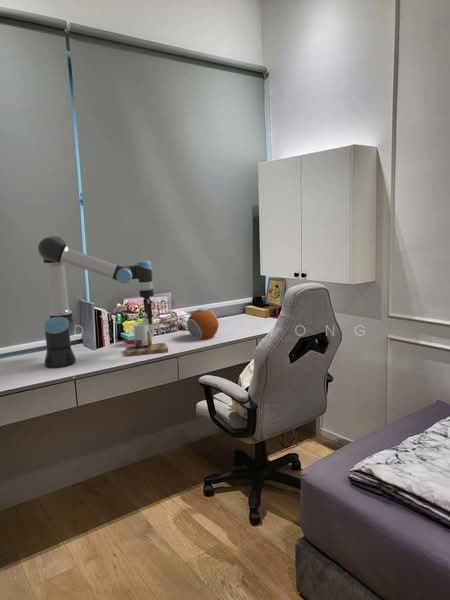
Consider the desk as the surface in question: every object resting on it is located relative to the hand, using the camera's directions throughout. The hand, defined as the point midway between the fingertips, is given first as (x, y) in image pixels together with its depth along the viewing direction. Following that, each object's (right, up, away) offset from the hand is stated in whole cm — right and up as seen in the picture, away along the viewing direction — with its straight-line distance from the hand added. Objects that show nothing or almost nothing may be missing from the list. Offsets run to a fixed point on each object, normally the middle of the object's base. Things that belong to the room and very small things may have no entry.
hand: (149, 327), depth 263 cm
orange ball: (+29, -8, +29) cm, 41 cm away
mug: (-6, -10, +20) cm, 23 cm away
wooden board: (-2, -13, +1) cm, 13 cm away
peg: (-6, -11, 0) cm, 13 cm away
